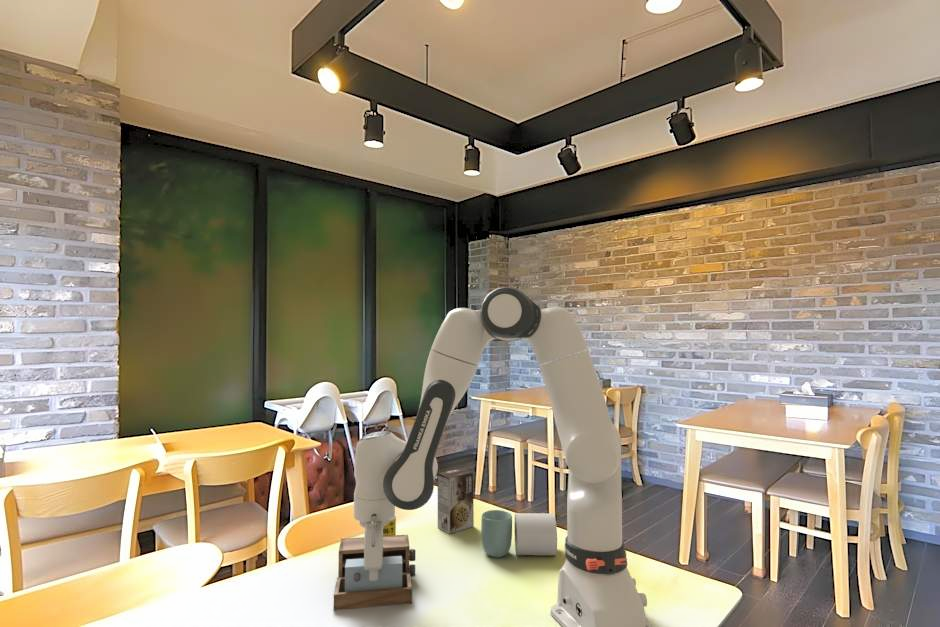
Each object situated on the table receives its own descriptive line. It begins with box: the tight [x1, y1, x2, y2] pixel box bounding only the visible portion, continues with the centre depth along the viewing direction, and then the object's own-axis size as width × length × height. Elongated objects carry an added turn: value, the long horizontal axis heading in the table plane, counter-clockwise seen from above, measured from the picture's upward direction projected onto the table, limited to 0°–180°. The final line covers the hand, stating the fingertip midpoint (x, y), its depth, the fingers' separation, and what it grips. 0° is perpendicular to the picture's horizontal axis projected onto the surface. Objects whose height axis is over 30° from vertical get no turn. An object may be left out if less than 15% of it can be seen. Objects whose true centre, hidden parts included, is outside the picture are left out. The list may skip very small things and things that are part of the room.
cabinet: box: [333, 534, 416, 610], centre depth 115 cm, size 18×17×8 cm
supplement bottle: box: [383, 515, 397, 536], centre depth 141 cm, size 5×5×8 cm
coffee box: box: [437, 467, 475, 535], centre depth 151 cm, size 9×6×16 cm
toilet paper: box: [513, 512, 558, 556], centre depth 133 cm, size 10×10×10 cm
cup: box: [480, 509, 513, 558], centre depth 132 cm, size 8×8×10 cm
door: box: [345, 556, 402, 592], centre depth 110 cm, size 5×12×8 cm, turn 100°
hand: (374, 572), depth 110 cm, fingers open, 5 cm apart
